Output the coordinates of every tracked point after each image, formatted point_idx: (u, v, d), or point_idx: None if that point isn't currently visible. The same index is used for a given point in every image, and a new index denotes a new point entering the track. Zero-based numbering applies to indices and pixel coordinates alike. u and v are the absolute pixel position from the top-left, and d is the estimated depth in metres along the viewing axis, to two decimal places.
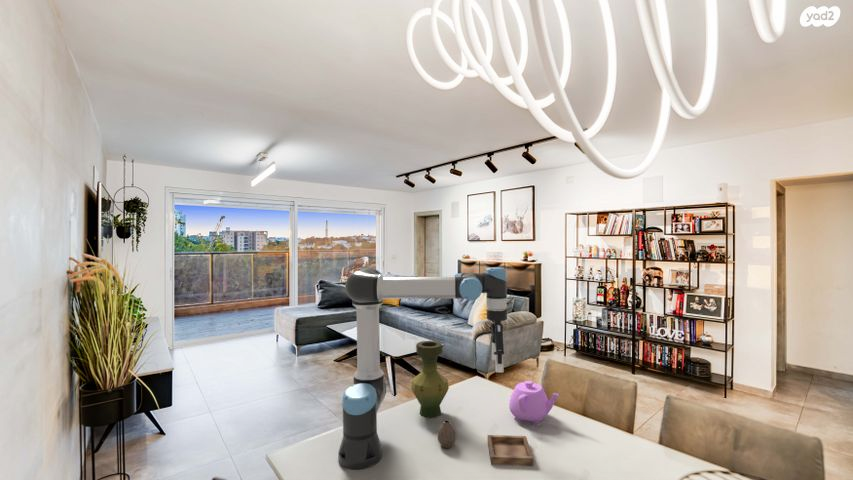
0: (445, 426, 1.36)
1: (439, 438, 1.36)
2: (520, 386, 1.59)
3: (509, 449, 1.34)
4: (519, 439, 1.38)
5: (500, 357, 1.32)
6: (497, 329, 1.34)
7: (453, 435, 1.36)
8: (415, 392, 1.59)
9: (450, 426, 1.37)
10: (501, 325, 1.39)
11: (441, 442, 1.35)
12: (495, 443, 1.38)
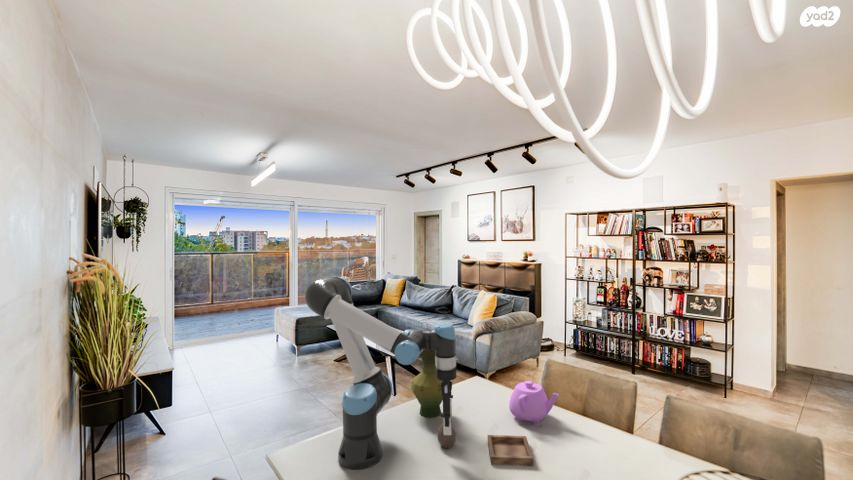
0: None
1: (439, 438, 1.36)
2: (520, 386, 1.59)
3: (509, 449, 1.34)
4: (519, 439, 1.38)
5: (447, 420, 1.30)
6: (444, 391, 1.31)
7: (453, 435, 1.36)
8: (415, 392, 1.59)
9: None
10: (450, 384, 1.36)
11: (441, 442, 1.35)
12: (495, 443, 1.38)
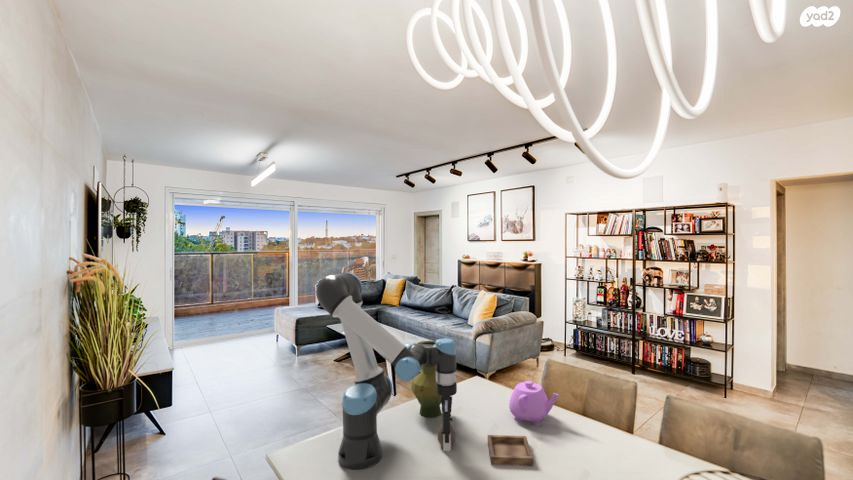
0: None
1: (439, 438, 1.36)
2: (520, 386, 1.59)
3: (509, 449, 1.34)
4: (519, 439, 1.38)
5: (447, 436, 1.33)
6: (444, 410, 1.31)
7: (453, 435, 1.36)
8: (415, 392, 1.59)
9: (450, 426, 1.37)
10: (450, 400, 1.36)
11: (441, 442, 1.35)
12: (495, 443, 1.38)
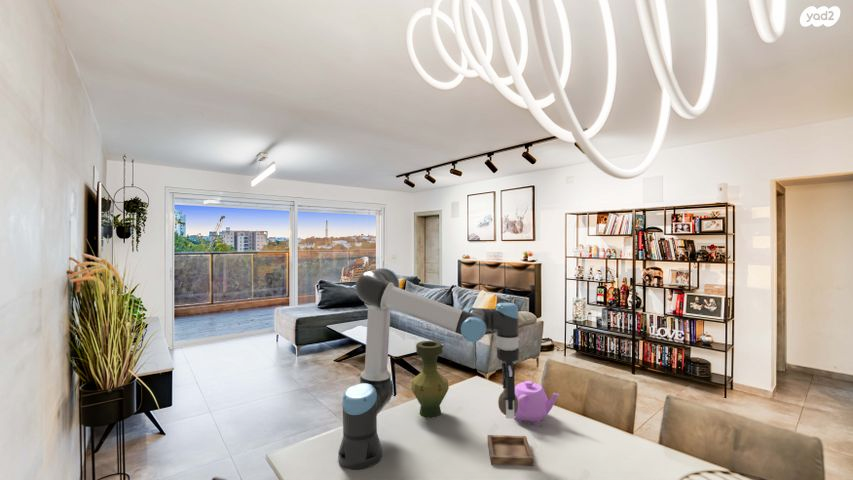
0: None
1: (501, 405, 1.30)
2: (520, 386, 1.59)
3: (509, 449, 1.34)
4: (519, 439, 1.38)
5: (511, 403, 1.27)
6: (509, 375, 1.26)
7: (516, 402, 1.30)
8: (415, 392, 1.59)
9: None
10: (513, 366, 1.30)
11: (503, 409, 1.30)
12: (495, 443, 1.38)
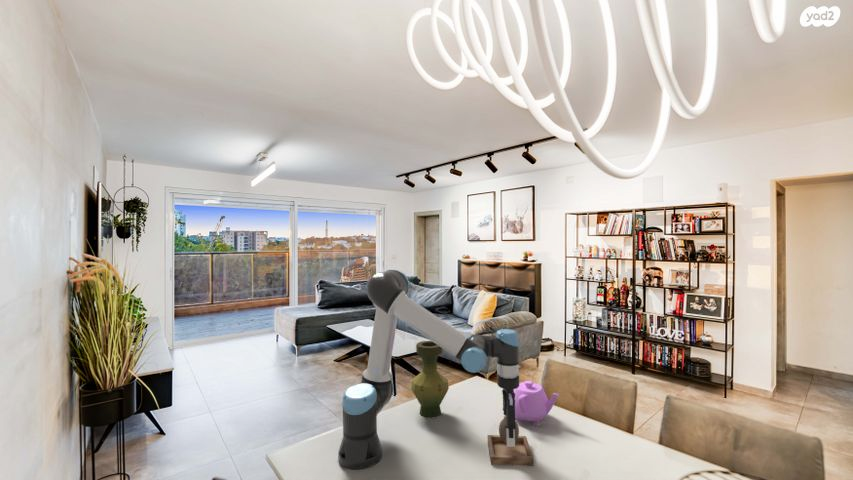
0: None
1: (502, 433, 1.30)
2: (520, 386, 1.59)
3: (509, 449, 1.34)
4: (519, 439, 1.38)
5: (511, 431, 1.27)
6: (509, 403, 1.26)
7: (516, 430, 1.30)
8: (415, 392, 1.59)
9: None
10: (513, 393, 1.30)
11: (504, 437, 1.30)
12: (495, 443, 1.38)
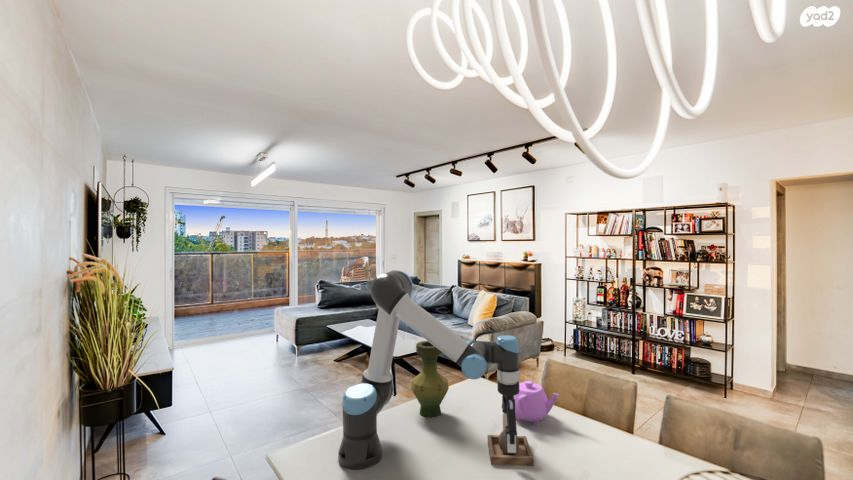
0: None
1: (501, 445, 1.30)
2: (520, 386, 1.59)
3: None
4: (519, 439, 1.38)
5: (513, 437, 1.24)
6: (509, 406, 1.25)
7: (516, 442, 1.29)
8: (415, 392, 1.59)
9: None
10: (513, 399, 1.31)
11: (504, 449, 1.29)
12: (495, 443, 1.38)
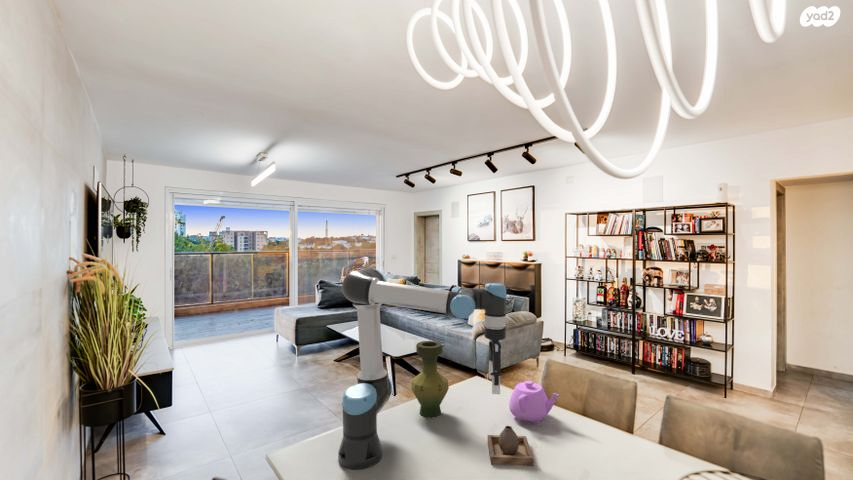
0: (507, 433, 1.30)
1: (501, 445, 1.30)
2: (520, 386, 1.59)
3: None
4: (519, 439, 1.38)
5: (497, 378, 1.26)
6: (495, 349, 1.28)
7: (516, 442, 1.29)
8: (415, 392, 1.59)
9: (513, 432, 1.31)
10: (499, 344, 1.33)
11: (504, 449, 1.29)
12: (495, 443, 1.38)
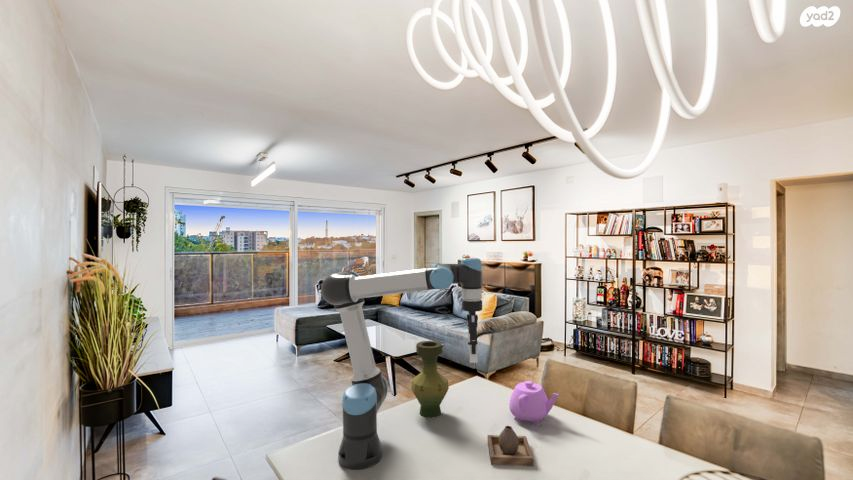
0: (507, 433, 1.30)
1: (501, 445, 1.30)
2: (520, 386, 1.59)
3: None
4: (519, 439, 1.38)
5: (474, 347, 1.32)
6: (471, 319, 1.33)
7: (516, 442, 1.29)
8: (415, 392, 1.59)
9: (513, 432, 1.31)
10: (476, 316, 1.38)
11: (504, 449, 1.29)
12: (495, 443, 1.38)
